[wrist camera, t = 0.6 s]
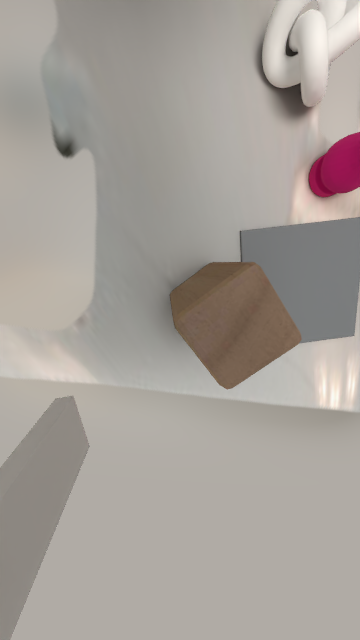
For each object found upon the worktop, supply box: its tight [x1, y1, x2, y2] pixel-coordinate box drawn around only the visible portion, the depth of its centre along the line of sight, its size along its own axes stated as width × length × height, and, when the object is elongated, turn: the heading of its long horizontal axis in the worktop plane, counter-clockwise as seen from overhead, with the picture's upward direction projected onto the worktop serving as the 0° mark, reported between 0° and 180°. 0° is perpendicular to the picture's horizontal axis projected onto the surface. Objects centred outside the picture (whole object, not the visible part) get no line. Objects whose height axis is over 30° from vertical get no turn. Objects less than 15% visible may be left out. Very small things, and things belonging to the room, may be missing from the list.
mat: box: [240, 217, 360, 343], centre depth 41 cm, size 22×22×1 cm
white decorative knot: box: [262, 0, 360, 107], centre depth 28 cm, size 11×12×9 cm
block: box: [170, 262, 302, 389], centre depth 31 cm, size 10×10×20 cm
